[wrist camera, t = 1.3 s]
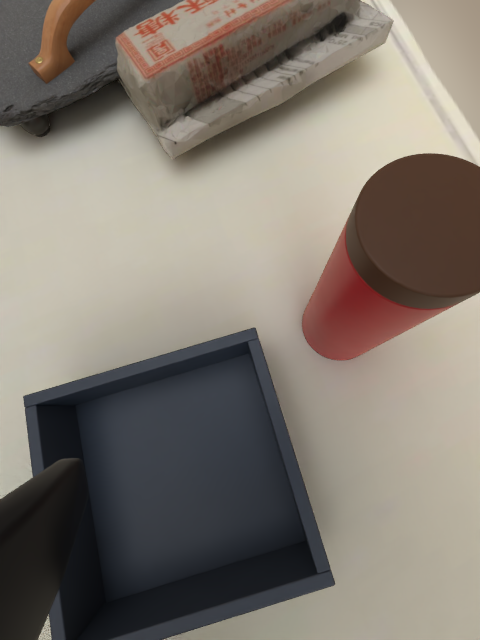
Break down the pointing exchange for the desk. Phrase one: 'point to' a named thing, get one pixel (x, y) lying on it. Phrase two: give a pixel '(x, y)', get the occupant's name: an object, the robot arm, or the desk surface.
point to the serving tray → (60, 53)
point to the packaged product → (236, 60)
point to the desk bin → (178, 494)
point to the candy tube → (399, 256)
